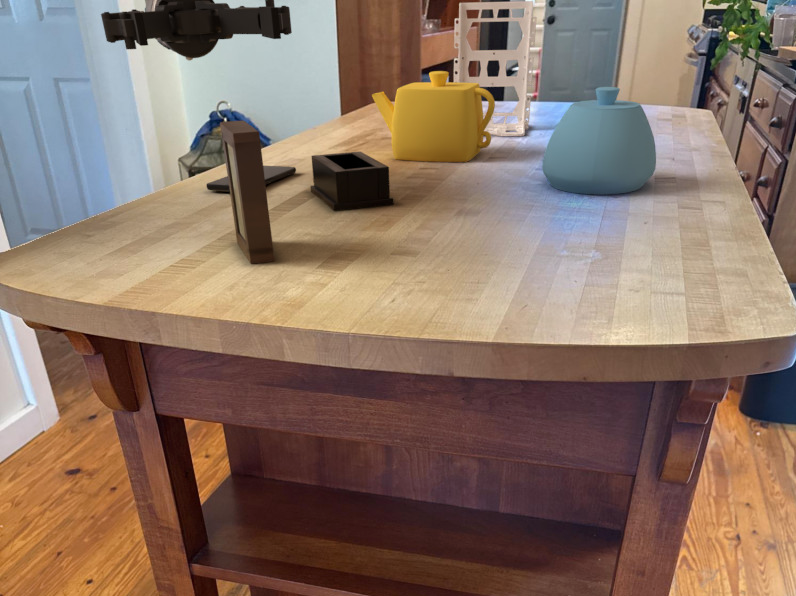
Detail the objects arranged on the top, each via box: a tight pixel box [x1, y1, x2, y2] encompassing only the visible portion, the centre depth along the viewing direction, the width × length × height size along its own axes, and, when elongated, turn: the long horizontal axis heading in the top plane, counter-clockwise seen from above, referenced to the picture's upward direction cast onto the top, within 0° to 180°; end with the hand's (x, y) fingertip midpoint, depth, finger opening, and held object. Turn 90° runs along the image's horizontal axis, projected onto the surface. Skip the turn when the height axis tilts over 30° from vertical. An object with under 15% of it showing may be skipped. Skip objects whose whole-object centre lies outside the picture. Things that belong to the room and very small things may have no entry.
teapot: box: [371, 70, 496, 163], centre depth 120 cm, size 20×12×12 cm, turn 73°
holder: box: [310, 151, 395, 212], centre depth 98 cm, size 12×8×4 cm, turn 20°
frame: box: [219, 120, 275, 265], centre depth 76 cm, size 8×2×12 cm, turn 20°
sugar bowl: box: [541, 86, 657, 196], centre depth 99 cm, size 15×15×12 cm
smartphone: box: [206, 165, 297, 193], centre depth 108 cm, size 7×1×15 cm
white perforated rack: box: [453, 0, 538, 137], centre depth 136 cm, size 14×14×20 cm
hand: (210, 26), depth 76 cm, fingers open, 13 cm apart
